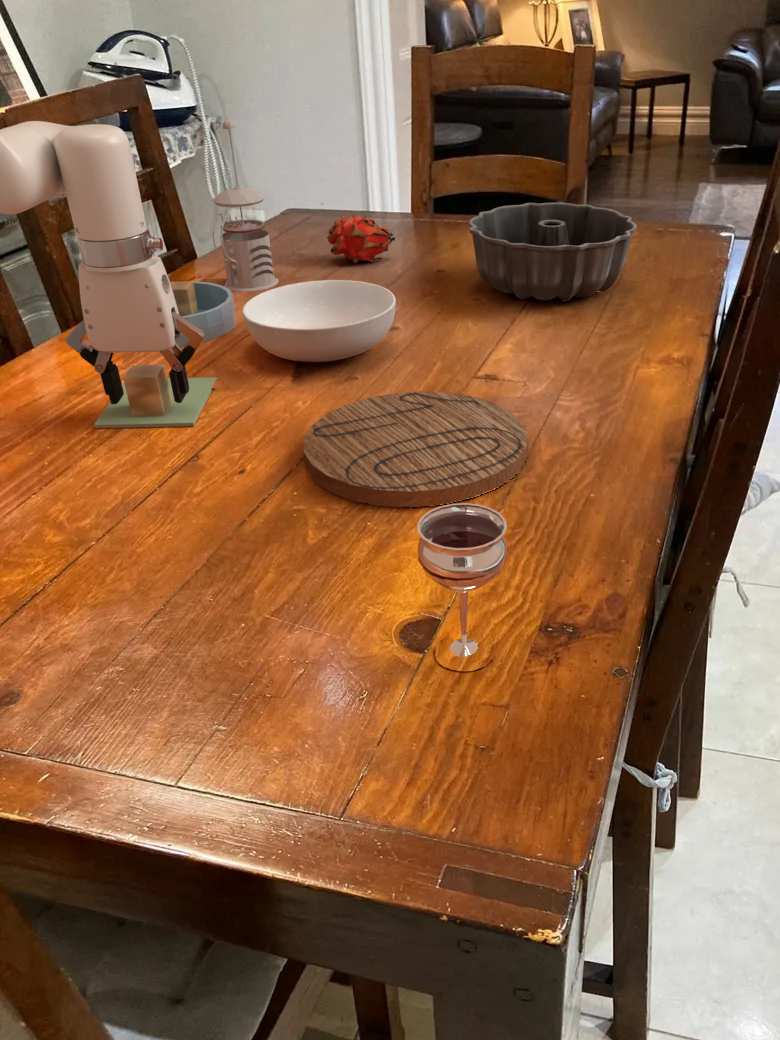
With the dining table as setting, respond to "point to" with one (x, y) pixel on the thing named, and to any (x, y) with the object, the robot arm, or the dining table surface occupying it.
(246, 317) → the serving bowl
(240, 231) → the french press
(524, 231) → the bundt pan
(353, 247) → the dragon fruit
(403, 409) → the trivet
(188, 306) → the block back
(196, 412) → the mat
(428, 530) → the wineglass
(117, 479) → the dining table surface
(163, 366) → the block front
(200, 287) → the pan
